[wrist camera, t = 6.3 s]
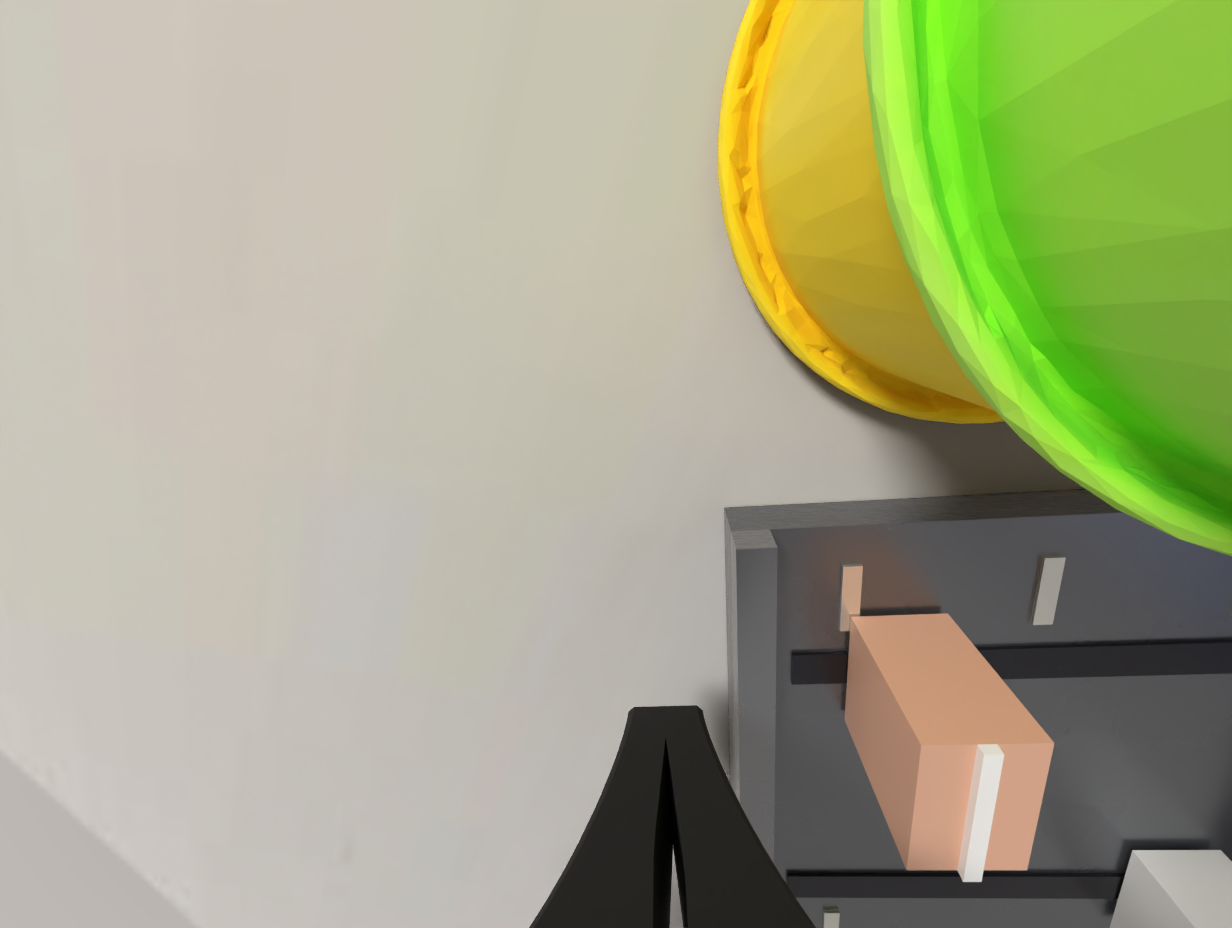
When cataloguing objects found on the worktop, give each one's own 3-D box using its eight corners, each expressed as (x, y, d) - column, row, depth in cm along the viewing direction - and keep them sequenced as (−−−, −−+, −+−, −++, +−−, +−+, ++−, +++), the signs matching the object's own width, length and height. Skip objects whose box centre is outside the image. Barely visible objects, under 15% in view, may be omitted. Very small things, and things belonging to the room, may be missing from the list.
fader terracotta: (947, 613, 12) (1063, 753, 9) (934, 718, 13) (1033, 881, 10) (850, 616, 13) (927, 755, 9) (844, 720, 13) (911, 881, 10)
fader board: (1349, 476, 12) (1476, 516, 10) (1195, 905, 17) (1264, 988, 15) (724, 507, 13) (735, 549, 11) (733, 903, 18) (742, 980, 16)
